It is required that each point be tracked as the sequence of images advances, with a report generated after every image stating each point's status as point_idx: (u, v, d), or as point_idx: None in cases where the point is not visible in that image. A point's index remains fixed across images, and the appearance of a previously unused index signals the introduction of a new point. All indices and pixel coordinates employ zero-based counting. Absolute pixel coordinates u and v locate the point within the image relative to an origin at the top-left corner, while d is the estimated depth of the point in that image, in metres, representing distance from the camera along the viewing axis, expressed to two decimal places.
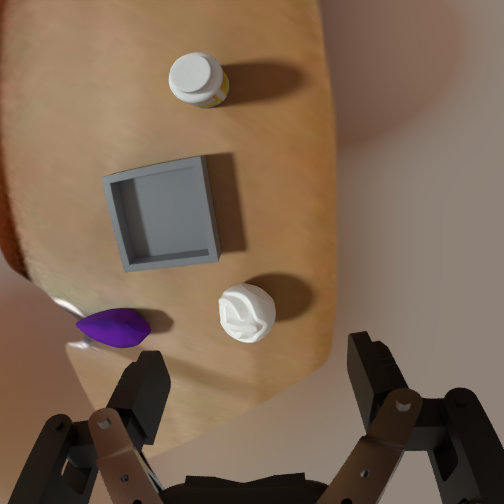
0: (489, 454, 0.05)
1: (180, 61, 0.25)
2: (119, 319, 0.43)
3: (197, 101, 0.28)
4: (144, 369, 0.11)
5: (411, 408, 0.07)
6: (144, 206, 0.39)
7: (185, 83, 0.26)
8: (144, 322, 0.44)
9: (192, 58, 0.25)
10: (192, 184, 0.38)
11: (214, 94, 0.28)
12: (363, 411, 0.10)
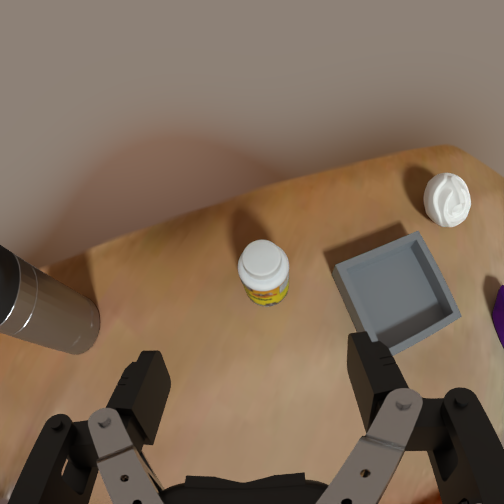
0: (489, 454, 0.05)
1: (251, 268, 0.31)
2: None
3: (286, 257, 0.34)
4: (144, 369, 0.11)
5: (411, 408, 0.07)
6: (395, 318, 0.36)
7: (273, 257, 0.32)
8: (498, 295, 0.34)
9: (246, 258, 0.32)
10: (361, 276, 0.39)
11: (277, 246, 0.35)
12: (363, 411, 0.10)
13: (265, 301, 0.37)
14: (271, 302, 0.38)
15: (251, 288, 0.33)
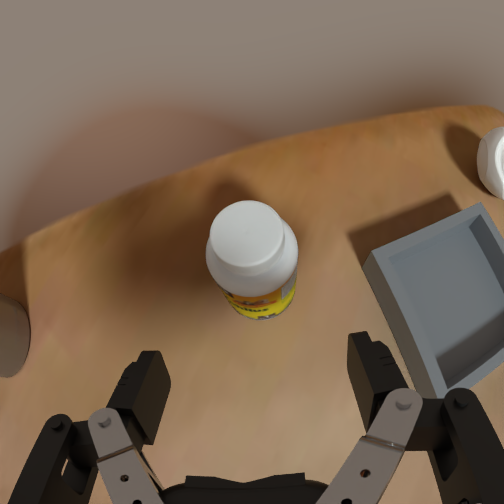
0: (489, 454, 0.05)
1: (225, 252, 0.16)
2: None
3: (293, 234, 0.19)
4: (144, 369, 0.11)
5: (411, 408, 0.07)
6: (458, 333, 0.21)
7: (268, 232, 0.16)
8: None
9: (218, 233, 0.17)
10: (408, 269, 0.24)
11: None
12: (363, 411, 0.10)
13: (257, 313, 0.22)
14: (267, 314, 0.22)
15: (229, 291, 0.18)
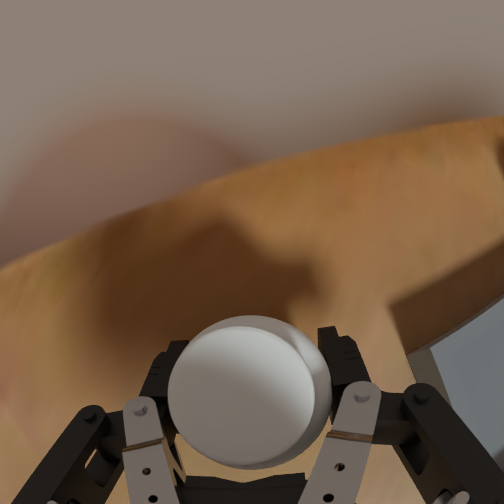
0: (461, 443, 0.06)
1: (199, 436, 0.07)
2: None
3: (326, 367, 0.10)
4: (176, 358, 0.12)
5: (368, 400, 0.08)
6: None
7: (284, 402, 0.07)
8: None
9: (184, 397, 0.08)
10: (466, 356, 0.15)
11: (294, 328, 0.11)
12: None
13: None
14: None
15: None
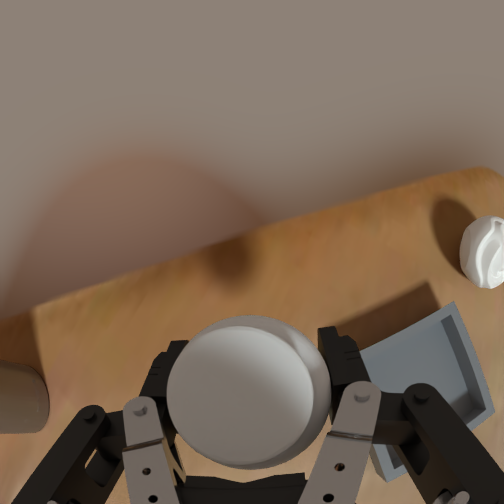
0: (461, 443, 0.06)
1: (198, 436, 0.07)
2: None
3: (325, 367, 0.10)
4: (176, 358, 0.12)
5: (368, 400, 0.08)
6: None
7: (282, 402, 0.07)
8: None
9: (183, 397, 0.08)
10: (375, 366, 0.27)
11: (293, 328, 0.11)
12: None
13: None
14: None
15: None
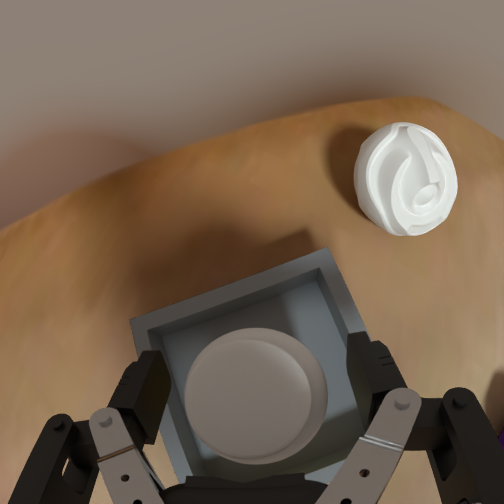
0: (489, 453, 0.05)
1: (213, 435, 0.08)
2: None
3: (322, 373, 0.11)
4: (145, 369, 0.11)
5: (410, 408, 0.07)
6: None
7: (285, 404, 0.09)
8: None
9: (199, 401, 0.09)
10: (198, 340, 0.20)
11: None
12: (362, 411, 0.10)
13: None
14: None
15: None
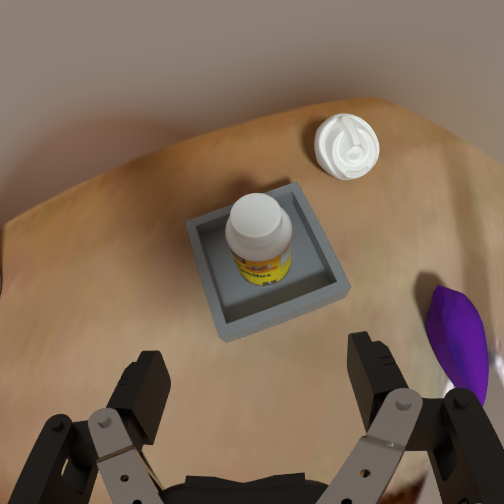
0: (489, 454, 0.05)
1: (242, 228, 0.23)
2: (441, 332, 0.25)
3: (288, 217, 0.26)
4: (144, 369, 0.11)
5: (411, 408, 0.07)
6: (259, 287, 0.32)
7: (271, 214, 0.24)
8: (432, 300, 0.28)
9: (236, 215, 0.24)
10: (223, 236, 0.35)
11: None
12: (363, 411, 0.10)
13: (262, 278, 0.29)
14: (270, 280, 0.30)
15: (243, 258, 0.25)
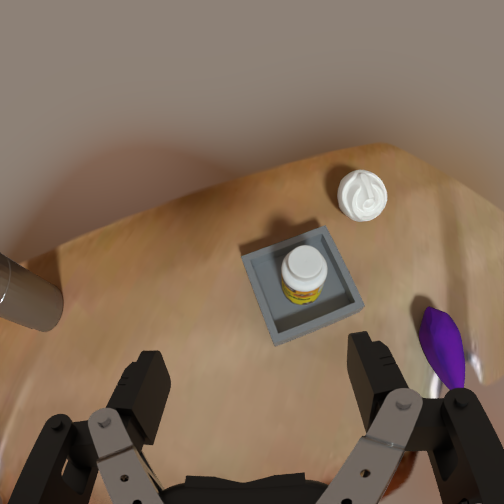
0: (489, 454, 0.05)
1: (297, 271, 0.34)
2: (429, 340, 0.36)
3: None
4: (144, 369, 0.11)
5: (411, 408, 0.07)
6: (298, 305, 0.43)
7: (316, 261, 0.35)
8: (423, 317, 0.39)
9: (292, 262, 0.35)
10: (269, 266, 0.46)
11: None
12: (363, 411, 0.10)
13: (303, 301, 0.40)
14: (308, 301, 0.41)
15: (295, 289, 0.36)
